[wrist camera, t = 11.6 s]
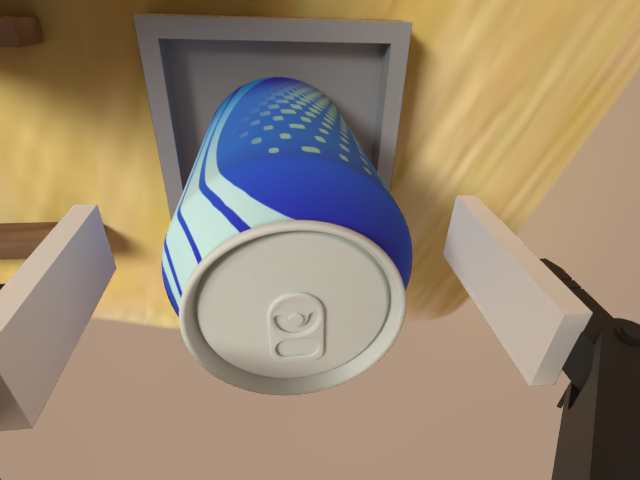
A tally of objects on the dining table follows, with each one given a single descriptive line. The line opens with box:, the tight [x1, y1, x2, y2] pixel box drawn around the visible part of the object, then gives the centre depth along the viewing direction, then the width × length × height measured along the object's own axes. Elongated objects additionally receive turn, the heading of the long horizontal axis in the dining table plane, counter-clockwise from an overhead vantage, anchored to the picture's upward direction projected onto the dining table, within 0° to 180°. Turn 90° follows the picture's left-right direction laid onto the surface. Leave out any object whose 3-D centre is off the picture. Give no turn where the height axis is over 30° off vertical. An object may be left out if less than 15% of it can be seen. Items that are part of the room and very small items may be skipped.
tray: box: [133, 13, 412, 221], centre depth 25 cm, size 14×14×2 cm
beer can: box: [162, 77, 412, 395], centre depth 18 cm, size 8×8×16 cm
